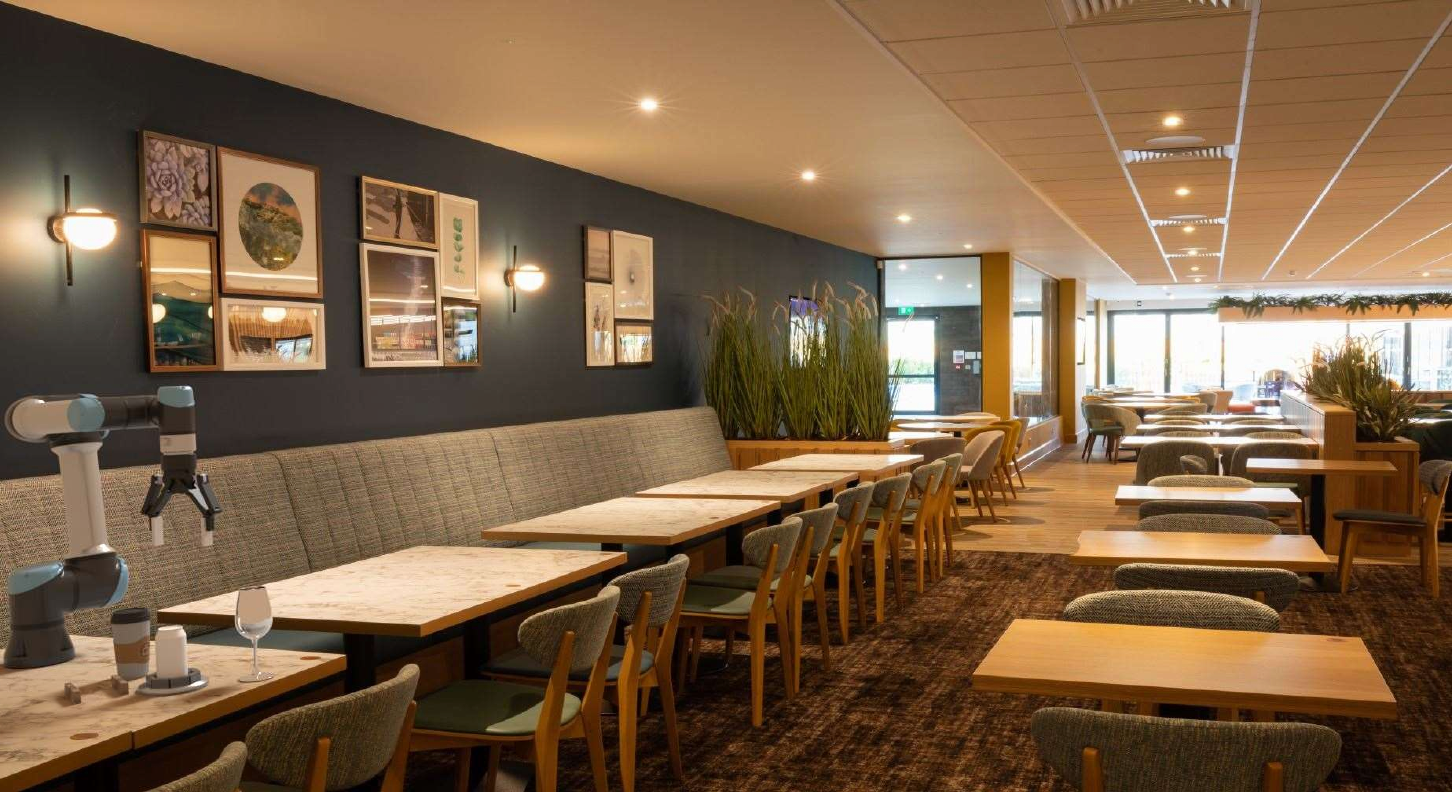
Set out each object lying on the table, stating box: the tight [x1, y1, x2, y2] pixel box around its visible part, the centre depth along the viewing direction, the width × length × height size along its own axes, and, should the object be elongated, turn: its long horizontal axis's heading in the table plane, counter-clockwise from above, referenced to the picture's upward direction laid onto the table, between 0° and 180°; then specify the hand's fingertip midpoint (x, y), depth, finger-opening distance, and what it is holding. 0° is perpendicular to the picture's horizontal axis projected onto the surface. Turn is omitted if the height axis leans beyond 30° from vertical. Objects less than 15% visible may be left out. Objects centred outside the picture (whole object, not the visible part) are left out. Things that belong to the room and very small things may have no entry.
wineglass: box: [234, 585, 275, 683], centre depth 273 cm, size 8×8×20 cm
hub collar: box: [137, 667, 210, 697], centre depth 267 cm, size 14×14×3 cm
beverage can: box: [154, 624, 189, 678], centre depth 267 cm, size 6×6×12 cm
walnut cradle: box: [64, 674, 130, 705], centre depth 263 cm, size 10×10×2 cm
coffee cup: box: [110, 606, 152, 681], centre depth 278 cm, size 8×8×15 cm
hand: (182, 545), depth 282 cm, fingers open, 13 cm apart
